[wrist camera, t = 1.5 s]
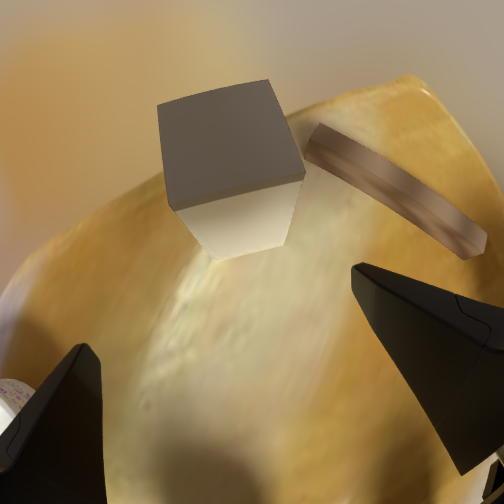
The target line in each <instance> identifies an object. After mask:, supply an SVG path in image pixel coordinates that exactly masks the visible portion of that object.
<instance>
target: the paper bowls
mask: <svg viewBox="0 0 504 504" xmlns="http://www.w3.org/2000/svg"><path fill="white" fill-rule="evenodd" d="M34 393H35V390H34V389H32V388H31V387H30V386H28V385H27V384H25V383H23V382H21V381H18V380H16V379H0V435H1V434H2V433H3V431H4V430H5V429H6V428H7V427H8V425H9V424H10V423H11V422H12V420H13V419H14V418H15V416H16V415H17V414H18V413H19V412H20V410H21V409H22V408H23V406H24V405H25V404H26V402H27V401H28V400H29V399H30V398H31V396H32V395H33V394H34Z"/></svg>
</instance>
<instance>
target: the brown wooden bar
mask: <svg viewBox="0 0 504 504" xmlns="http://www.w3.org/2000/svg"><path fill="white" fill-rule="evenodd" d="M304 159H305V160H307V161H309V162H311V163H313V164H315V165H317V166H319V167H321V168H322V169H324V170H326V171H328V172H330V173H332V174H333V175H335V176H337V177H339V178H341V179H342V180H344V181H346V182H348V183H349V184H351V185H353V186H354V187H356V188H358V189H360V190H361V191H363V192H365V193H366V194H368V195H370V196H371V197H373V198H374V199H376V200H378V201H379V202H381V203H382V204H384V205H386V206H387V207H389V208H390V209H392V210H393V211H395V212H397V213H398V214H400V215H401V216H403V217H404V218H406V219H407V220H409V221H410V222H412V223H413V224H414V225H416V226H417V227H419V228H420V229H422V230H423V231H425V232H426V233H427V234H429V235H430V236H432V237H433V238H434V239H436V240H437V241H439V242H440V243H441V244H443V245H444V246H445V247H447V248H448V249H449V250H451V251H452V252H453V253H455V254H456V255H457V256H459V257H460V258H461V259H462V260H466V259H469V258H472V257H474V256H477V255H480V254H483V253H484V250H485V245H486V240H487V235H488V234H487V233H486V232H485V231H484V230H482V229H481V228H480V227H479V226H478V225H477V224H475V223H474V222H473V221H472V220H471V219H469V218H468V217H467V216H466V215H465V214H463V213H462V212H461V211H460V210H458V209H457V208H456V207H454V206H453V205H452V204H451V203H449V202H448V201H447V200H445V199H444V198H443V197H441V196H440V195H439V194H437V193H436V192H434V191H433V190H432V189H430V188H429V187H427V186H426V185H425V184H423V183H422V182H420V181H419V180H417V179H416V178H414V177H413V176H411V175H410V174H408V173H407V172H405V171H404V170H402V169H401V168H399V167H398V166H396V165H395V164H393V163H391V162H390V161H388V160H387V159H385V158H383V157H382V156H380V155H378V154H377V153H375V152H373V151H371V150H370V149H368V148H366V147H365V146H363V145H361V144H359V143H357V142H356V141H354V140H352V139H350V138H348V137H346V136H345V135H343V134H341V133H339V132H337V131H335V130H333V129H331V128H329V127H327V126H325V125H323V124H321V123H319V125H318V126H317V128H316V129H315V131H314V132H313V134H312V135H311V137H310V138H309V142H308V146H307V150H306V154H305V158H304Z"/></svg>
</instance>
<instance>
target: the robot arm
mask: <svg viewBox="0 0 504 504" xmlns="http://www.w3.org/2000/svg"><path fill="white" fill-rule="evenodd" d="M351 287H352V291H353V294H354V296H355V298H356V299H357V301H358V303H359V305H360V307H361V309H362V311H363V313H364V315H365V316H366V318H367V320H368V322H369V324H370V326H371V328H372V330H373V331H374V333H375V334H376V336H377V337H378V339H379V340H380V342H381V343H382V345H383V346H384V348H385V349H386V351H387V352H388V354H389V355H390V357H391V358H392V360H393V361H394V363H395V365H396V366H397V368H398V369H399V371H400V372H401V374H402V375H403V377H404V379H405V380H406V382H407V383H408V385H409V387H410V388H411V390H412V391H413V393H414V395H415V396H416V398H417V400H418V401H419V403H420V404H421V406H422V408H423V409H424V411H425V413H426V414H427V416H428V418H429V419H430V421H431V423H432V425H433V426H434V428H435V430H436V432H437V434H438V435H439V437H440V439H441V441H442V442H443V444H444V446H445V448H446V449H447V451H448V453H449V455H450V457H451V459H452V460H453V462H454V464H455V466H456V468H457V470H458V472H459V473H460V475H461V476H463V475H464V474H466V473H467V472H469V471H470V470H472V469H473V468H474V467H476V466H477V465H479V464H480V463H481V462H483V461H484V460H485V459H487V458H488V457H489V456H491V455H492V454H493V453H494V452H495V453H496V455H497V457H498V459H497V460H496V461H495V462H494V463H493V464H492V465H491V466H490V471H489V475H488V478H487V482H486V486H485V489H484V492H483V496H482V498H483V500H484V501H483V502H482V503H481V504H504V308H500V307H496V306H492V305H489V304H486V303H482V302H479V301H476V300H473V299H470V298H467V297H464V296H461V295H458V294H454V293H453V292H450V291H447V290H444V289H441V288H438V287H435V286H433V285H430V284H427V283H424V282H421V281H418V280H415V279H412V278H409V277H406V276H403V275H400V274H398V273H395V272H392V271H389V270H386V269H383V268H380V267H377V266H374V265H371V264H367V263H364V262H362V263H359V264H356V265H353V266H352V268H351ZM0 504H107V496H106V487H105V475H104V460H103V400H102V382H101V363H100V360H99V358H98V357H97V356H96V354H95V353H94V352H93V350H92V349H91V348H90V346H89V345H88V344H86V343H81V344H77V345H75V346H74V347H73V348H72V349H71V350H70V352H69V353H68V354H67V355H66V356H65V357H64V358H63V360H62V361H61V362H60V363H59V364H58V365H57V366H56V368H55V369H54V370H53V371H52V372H51V373H50V375H49V376H48V377H47V378H46V379H45V381H44V382H43V383H42V384H41V385H40V387H39V388H38V389H37V390H36V391H35V393H34V394H33V395H32V396H31V398H30V399H29V400H28V401H27V402H26V404H25V405H24V406H23V408H22V409H21V410H20V412H19V413H18V414H17V415H16V416H15V418H14V419H13V420H12V422H11V423H10V424H9V425H8V427H7V428H6V429H5V430H4V431H3V433H2V434H1V435H0Z"/></svg>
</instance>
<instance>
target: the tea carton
mask: <svg viewBox="0 0 504 504" xmlns="http://www.w3.org/2000/svg"><path fill="white" fill-rule="evenodd" d="M157 110H158V122H159V132H160V142H161V151H162V160H163V167H164V176H165V183H166V190H167V197H168V204H169V206H170V207H171V208H172V210H173V211H174V212H175V213H176V215H177V216H178V217H179V218H180V220H181V221H182V222H183V223H184V225H185V226H186V227H187V228H188V230H189V231H190V232H191V233H192V235H193V236H194V237H195V238H196V240H197V241H198V242H199V243H200V244H201V246H202V247H203V248H204V249H205V251H206V252H207V253H208V254H209V255H210V257H211V258H212V259H213V260H214V262H218V261H222V260H226V259H230V258H234V257H238V256H242V255H246V254H250V253H254V252H258V251H262V250H266V249H270V248H274V247H278V246H282V245H284V242H285V239H286V236H287V232H288V229H289V226H290V223H291V219H292V216H293V213H294V209H295V206H296V203H297V199H298V196H299V193H300V189H301V186H302V183H303V179H304V176H305V172H306V171H305V168H304V165H303V163H302V160H301V157H300V155H299V152H298V149H297V147H296V144H295V142H294V139H293V137H292V134H291V132H290V129H289V127H288V124H287V122H286V119H285V117H284V115H283V112H282V110H281V107H280V105H279V103H278V100H277V98H276V96H275V93H274V91H273V89H272V87H271V84H270V82H269V80H268V79H267V80H261V81H255V82H249V83H244V84H238V85H233V86H228V87H224V88H219V89H215V90H211V91H207V92H202V93H198V94H195V95H191V96H187V97H183V98H180V99H177V100H173V101H170V102H166V103H163V104H160V105H158V106H157Z"/></svg>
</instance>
